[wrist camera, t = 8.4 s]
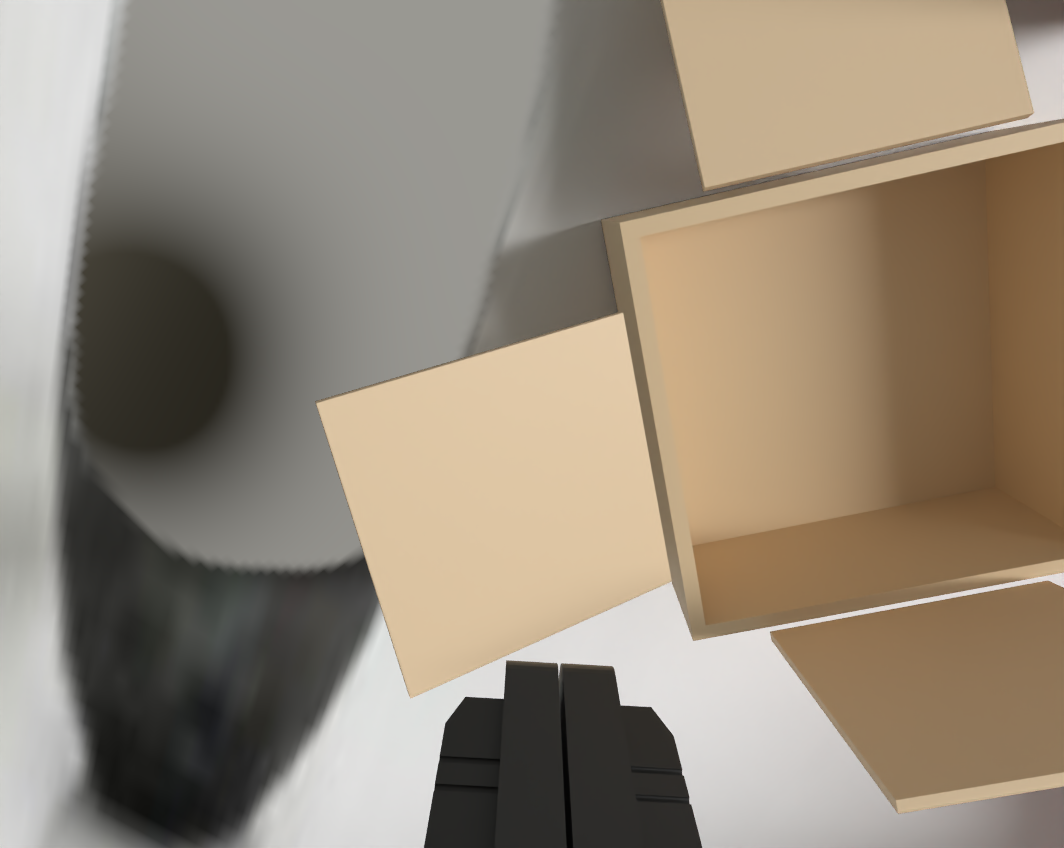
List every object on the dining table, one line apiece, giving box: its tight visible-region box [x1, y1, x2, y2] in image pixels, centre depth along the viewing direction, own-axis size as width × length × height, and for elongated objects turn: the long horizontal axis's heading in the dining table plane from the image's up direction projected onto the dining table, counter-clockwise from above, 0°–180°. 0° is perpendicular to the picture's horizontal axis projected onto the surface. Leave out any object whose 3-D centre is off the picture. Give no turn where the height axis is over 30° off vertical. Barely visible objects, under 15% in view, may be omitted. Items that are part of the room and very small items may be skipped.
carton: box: [601, 0, 1064, 641], centre depth 23 cm, size 23×23×6 cm
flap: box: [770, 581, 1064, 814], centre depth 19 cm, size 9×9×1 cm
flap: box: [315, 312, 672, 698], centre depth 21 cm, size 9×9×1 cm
